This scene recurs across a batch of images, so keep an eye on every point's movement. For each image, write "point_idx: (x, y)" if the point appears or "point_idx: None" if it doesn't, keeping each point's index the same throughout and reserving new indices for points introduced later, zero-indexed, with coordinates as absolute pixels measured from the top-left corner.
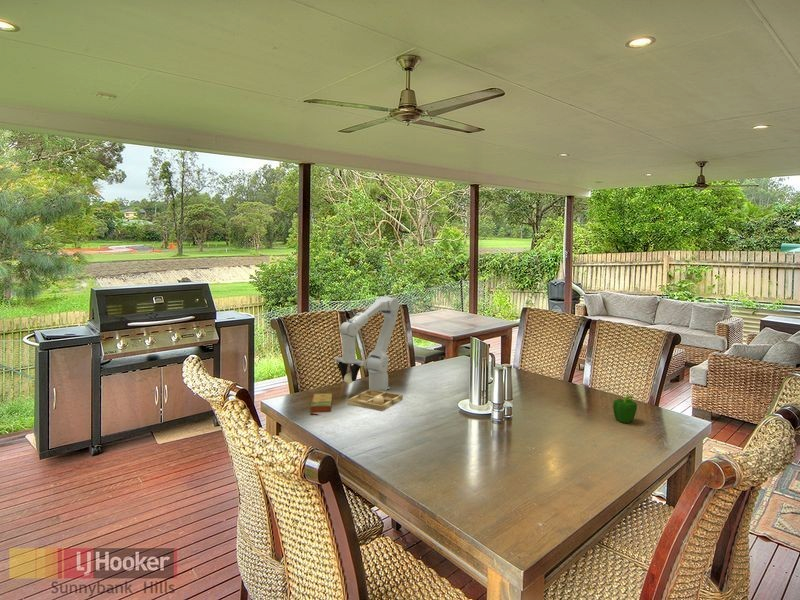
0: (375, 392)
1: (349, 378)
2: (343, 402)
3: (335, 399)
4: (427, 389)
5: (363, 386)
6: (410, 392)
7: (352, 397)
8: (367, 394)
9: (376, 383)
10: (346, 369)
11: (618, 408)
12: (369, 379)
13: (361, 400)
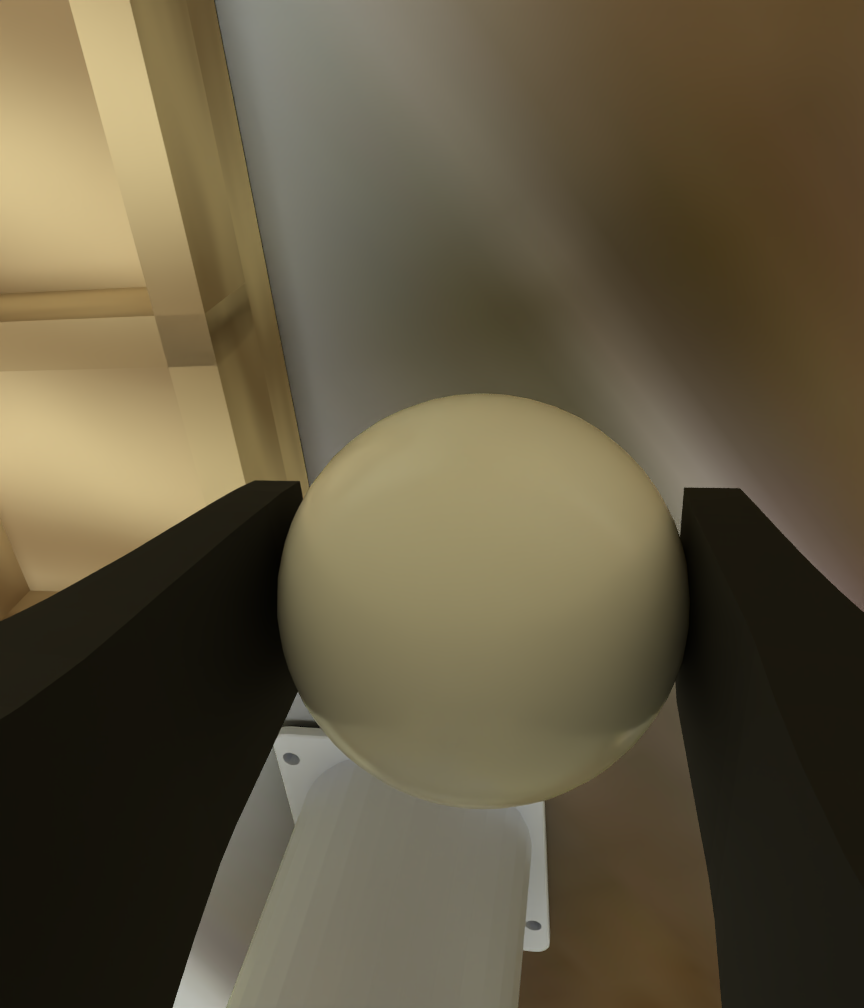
0: None
1: (332, 478)
2: (484, 24)
3: (800, 94)
4: None
5: (709, 892)
6: None
7: (120, 18)
8: None
9: (304, 873)
10: (724, 963)
11: None
12: (449, 944)
13: (123, 234)
